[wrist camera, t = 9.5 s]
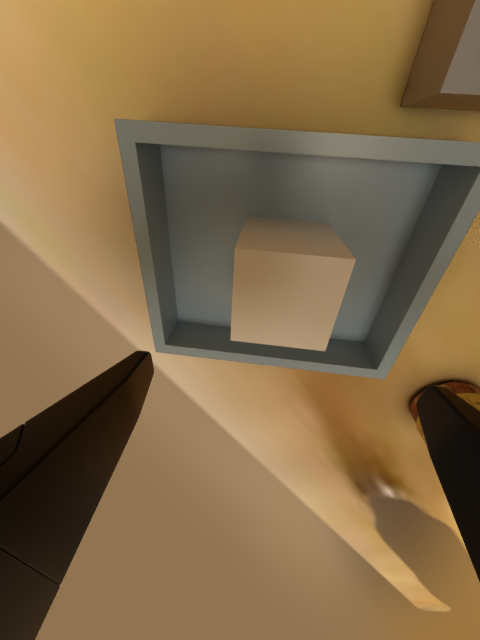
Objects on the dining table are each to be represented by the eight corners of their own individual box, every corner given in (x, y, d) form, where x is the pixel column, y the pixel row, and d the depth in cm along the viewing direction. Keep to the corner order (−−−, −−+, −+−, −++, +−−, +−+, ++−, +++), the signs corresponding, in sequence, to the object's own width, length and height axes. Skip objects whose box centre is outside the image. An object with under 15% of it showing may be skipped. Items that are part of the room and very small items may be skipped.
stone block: (329, 223, 15) (356, 259, 10) (311, 295, 18) (325, 351, 13) (246, 216, 15) (234, 248, 11) (241, 288, 18) (230, 340, 13)
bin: (460, 145, 13) (515, 144, 10) (368, 346, 21) (384, 379, 18) (147, 124, 14) (114, 118, 11) (171, 324, 22) (155, 351, 19)
